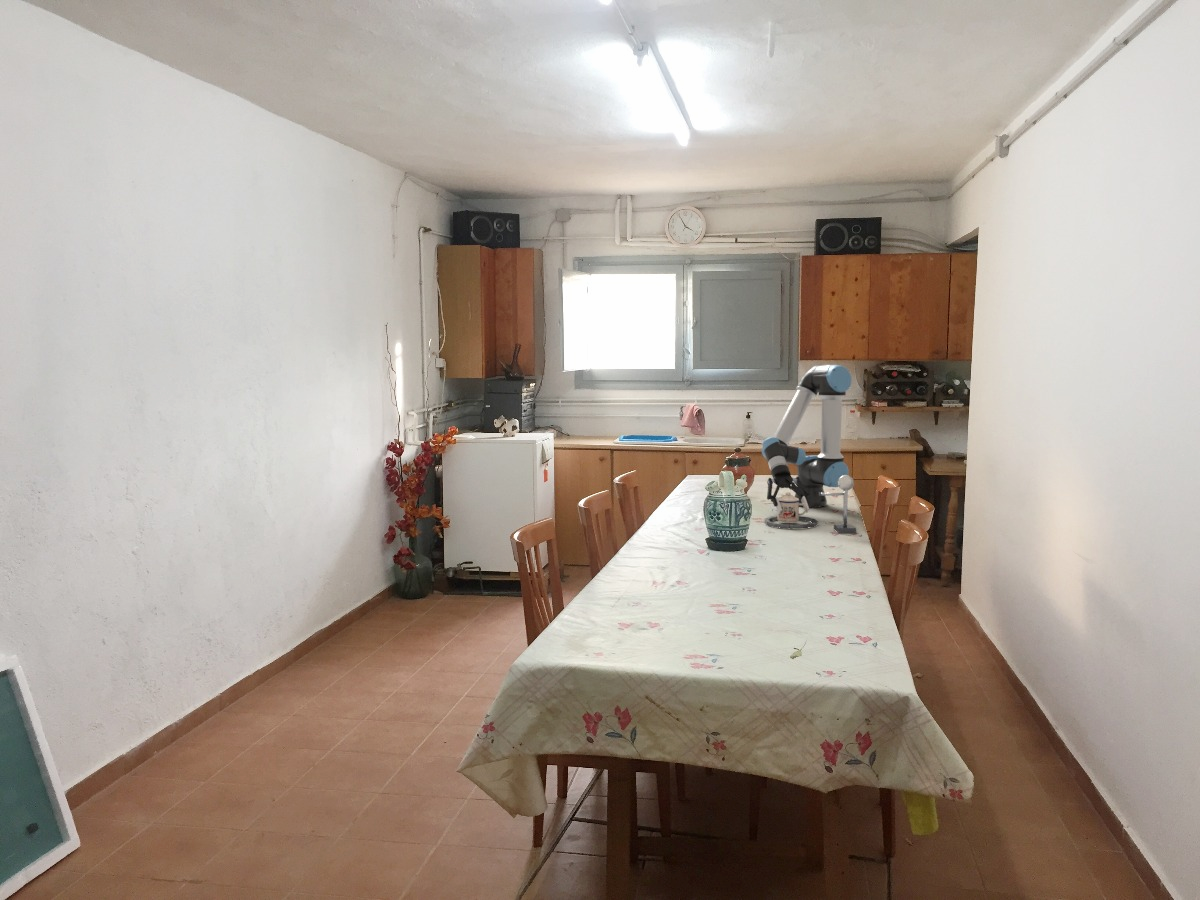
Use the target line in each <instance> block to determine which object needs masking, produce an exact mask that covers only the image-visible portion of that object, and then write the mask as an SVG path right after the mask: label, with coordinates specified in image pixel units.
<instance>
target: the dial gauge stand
mask: <svg viewBox="0 0 1200 900" xmlns="http://www.w3.org/2000/svg"><path fill="white" fill-rule="evenodd" d="M854 485H855V481H854V478H853V477H852V476H850V475H843V476H841V477H840V478H839V480H838V486H839V487H838V488H839V489H841V490H843V492H824V493H819V496H843V499H842V500H843V501H842V502H843V503H842V505H843V508H842V524H833V530H834V529H835V530H836V531H837V532H838V534H857V527H856V526H854V525H853V524H848V505H849V504H848V502H849V501H848V500H849V499H848V497H849V494H848V493H849V491H850V490H851V489H853V487H854ZM835 530H834V531H835ZM836 531H835V532H836ZM837 532H836V533H837Z"/></svg>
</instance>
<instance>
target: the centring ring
mask: <svg viewBox="0 0 1200 900" xmlns="http://www.w3.org/2000/svg"><path fill="white" fill-rule="evenodd" d="M773 520H776V521H778V520H777V515H775V516H768V517H767V518H765V519H764V524H765V526H767V525H768V526H767V527H771V526H773V527H772V528H775V527H778V528H777V529H783V528H807V529H809V528H808V527H814V526H816V525H817V524H818V525H819V521H818V519H816V518H812V517H808V516H804V515H800V516H799V520H798V521H801V520H806V521H805V522H807V521H811V522H812V523H811V522H808V523H805V524H804V523H803V524H784V523H777V522H775V521H773ZM770 521H771V522H770ZM818 525H817V526H818ZM817 526H816V527H817ZM779 527H780V528H779ZM814 528H815V527H814Z"/></svg>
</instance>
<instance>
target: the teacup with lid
mask: <svg viewBox="0 0 1200 900" xmlns="http://www.w3.org/2000/svg"><path fill="white" fill-rule="evenodd" d="M794 496H795V495H792V494H791V492H785V494H784V495H782V496H781V497H780V496H779V497H778V499H779V502H780V505H781V508H782V512H781V514H778V511H777V512H776V514H777V515H776V516H777V520H776V521H778V522H782V523H796V522H798V521H800V520H799V516H804V515H805V512H806V509H807V508H806V505H804V504H802V503H799V499H798V498H796V497H794ZM799 505H802V506H804V507H805V510H804V511H803V512H802V513H800V512H799V511H800V509H799V508H800V506H799ZM804 507H803V508H804Z"/></svg>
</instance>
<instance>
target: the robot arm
mask: <svg viewBox="0 0 1200 900" xmlns="http://www.w3.org/2000/svg"><path fill="white" fill-rule="evenodd" d="M851 386H852V375H851V372H850V371H849V370H848V368H847V367H845V366H844V365H839V364H816V365H813V366H811V368H809V369H808V370H807V371H806V372H805V373H804V375H802V377H801V379H800V380H799V382H798V384H797V385H796V387H795V388H796V393H795V394H794V396H793V398H792V400H791V402H790V404H789V406H788V407H787V410H786V411H785V413H784V414H783V416H782V419H781V421H780V423H779V424H778V427H777V429H776V430H775V432H774V434H773V435H772V436H770V437H767V438H766V439H765V440H764V441H763V442H762V446H761V447H762V448H761V456H762V457H764V459H766V462H767V464H768V467H769V470H770V474H771V477H769V478H768V479H767V480H766V481H767V482H766V483H767V493H766V494H767V495H766V499H767V500H768V501H770V502H771V503H773V506H774V507H776V510H777V511H778V514H781V512H782V508H781V505H780V502H779V499H778V498H779V497H777V495H778V493H779V491H780V489H789V490H791V491H793V492H794V493H795V494H794V495H793V496H794V497H796V498H798V499H799V503H802V504H804V505H806V508H807V509H806V512H805V513H808V512H809V510H810V508H820V507H819V506H824V507H827V505H828V503H827V502H828V501H827V497H826V496H819V493H825V491H824V486H825V487H829V488H840V487H839V486H838V480H839V478H840V477H841V476H843V475H848V476H850V475H849V473H850V470H849V466H848V465H847V464H846V463H845V460H844V459H845V457H844V455H843V454H842V453H841V449H842V448H841V442H842V411H843V409H842V407H843V406H842V405H843V399H844V398H845V397H846V396H847V395H846V393H847V391H848V390H849V389H850V387H851ZM817 395H818V396H819V398H820V399H821V419H820V421H821V424H820V425H821V428H820V429H821V430H820V453H818V455H807V454H806V453H807V452H806V451H805V449H803V448H801V447H799V446H792V445H789V443H790V441H791V439H792V437H793V436H794V433H795V432H796V430H797V428H798V426H799V424H800V422H801V420H802V418H803V417H804V414H805V413H806V411H807V409H808V407H809V406H810V403H811V401H812V400H813V399H814V398H815V399H816V397H817ZM788 464H790V465H791V464H792V465H797V471H796V472H797V476H796V477H792V476H791V471H790V469H789V466H788ZM773 484H775V485H776V487H775V490H774V493H773V494H772V492H773ZM800 506H802V505H799V507H800ZM802 508H803V509H804V511H805V507H804V506H803V507H802Z"/></svg>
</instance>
